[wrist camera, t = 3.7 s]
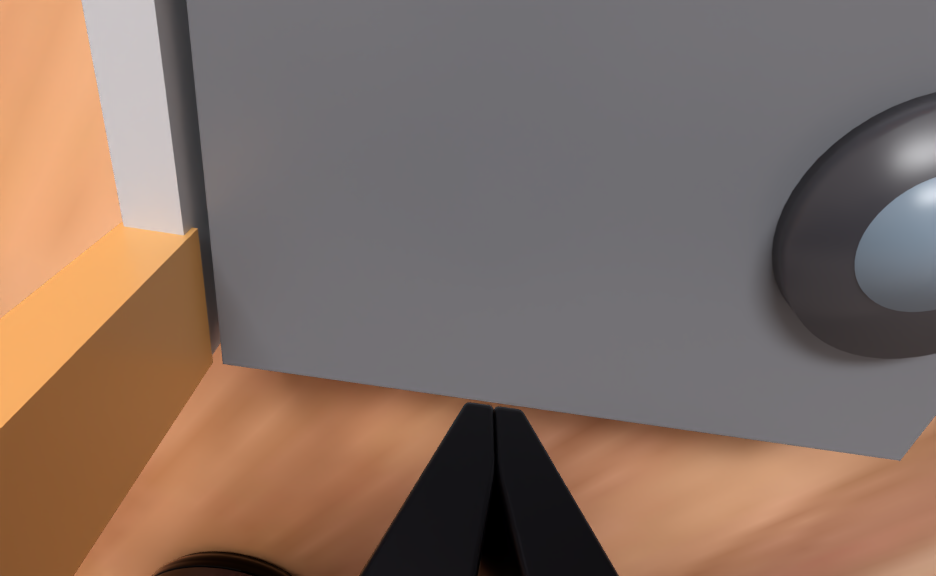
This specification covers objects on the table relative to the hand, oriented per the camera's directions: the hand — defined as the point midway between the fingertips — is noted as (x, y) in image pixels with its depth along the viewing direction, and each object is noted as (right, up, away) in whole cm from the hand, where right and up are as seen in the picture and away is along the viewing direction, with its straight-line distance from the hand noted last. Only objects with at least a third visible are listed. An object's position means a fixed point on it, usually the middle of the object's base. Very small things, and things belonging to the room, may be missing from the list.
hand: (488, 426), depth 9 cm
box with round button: (+3, +6, +4) cm, 7 cm away
